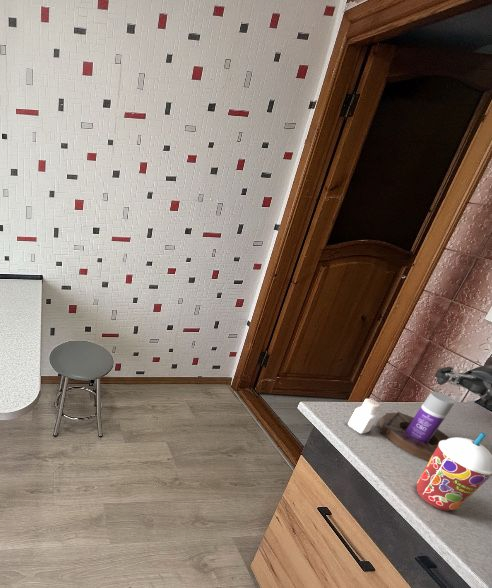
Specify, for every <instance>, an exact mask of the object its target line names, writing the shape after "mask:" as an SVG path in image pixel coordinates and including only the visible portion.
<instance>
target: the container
mask: <svg viewBox="0 0 492 588" xmlns="http://www.w3.org/2000/svg"><path fill="white" fill-rule="evenodd" d="M455 403H456V401H455V399H453V398H451V397H450V396H448V395H447V394H444V393H442V392H439V391H431V392H429V395H428V396H427V398H426V399H425V400H424V402H423V403H422V405H421V406H420V408H419V409H418V411H417V412H416V414H415V415H414V416H413V417H414V419H413V420H412V422H411V423H410V425H409V426H408V428H407V429H405V431H404V432H405V433H406V434H408V435H409V436H410V437H412V438H414V439H416V440H418V441H420V442H423V443H425V444H429V443H430V441H429V440H430V439H431V437H432V436H433V434H434V433H435V432H436V430H437V429H438V428H440V425H441V424H442V423H443V421H444V420H445V419H446V417H447V415H448V414H449V413H450V411H451V409H452V408H453V406H454V405H455ZM438 430H439V429H438Z"/></svg>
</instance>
